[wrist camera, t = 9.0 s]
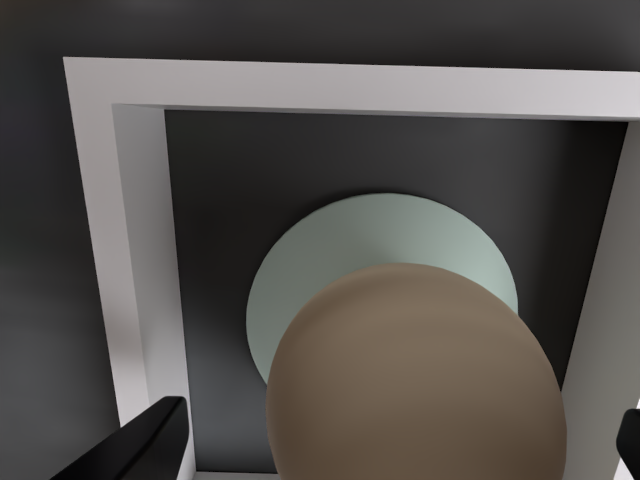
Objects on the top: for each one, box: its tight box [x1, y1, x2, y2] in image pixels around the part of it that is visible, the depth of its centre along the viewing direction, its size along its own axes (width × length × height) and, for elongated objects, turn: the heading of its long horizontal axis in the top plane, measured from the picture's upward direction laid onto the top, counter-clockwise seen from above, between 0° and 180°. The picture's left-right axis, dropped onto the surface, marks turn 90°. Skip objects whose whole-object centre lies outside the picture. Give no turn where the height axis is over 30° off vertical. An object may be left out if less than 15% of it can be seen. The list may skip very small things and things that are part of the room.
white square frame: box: [63, 57, 640, 480], centre depth 10 cm, size 14×14×2 cm
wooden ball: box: [265, 263, 567, 480], centre depth 8 cm, size 6×6×6 cm
